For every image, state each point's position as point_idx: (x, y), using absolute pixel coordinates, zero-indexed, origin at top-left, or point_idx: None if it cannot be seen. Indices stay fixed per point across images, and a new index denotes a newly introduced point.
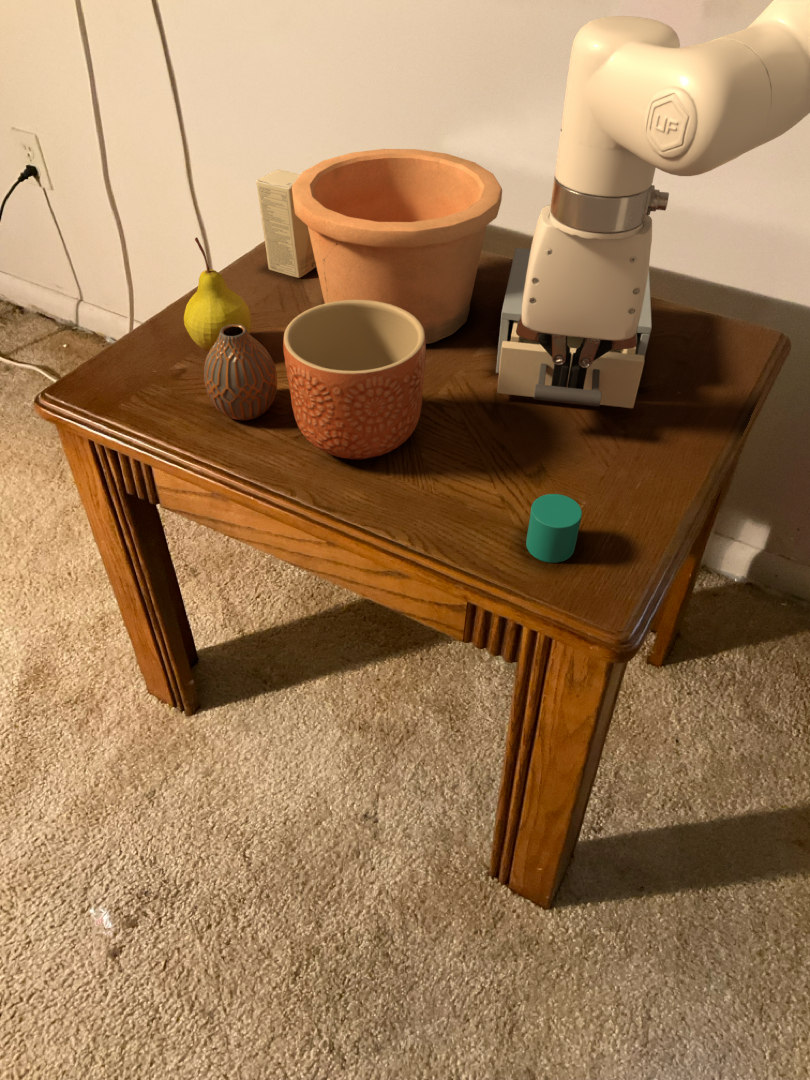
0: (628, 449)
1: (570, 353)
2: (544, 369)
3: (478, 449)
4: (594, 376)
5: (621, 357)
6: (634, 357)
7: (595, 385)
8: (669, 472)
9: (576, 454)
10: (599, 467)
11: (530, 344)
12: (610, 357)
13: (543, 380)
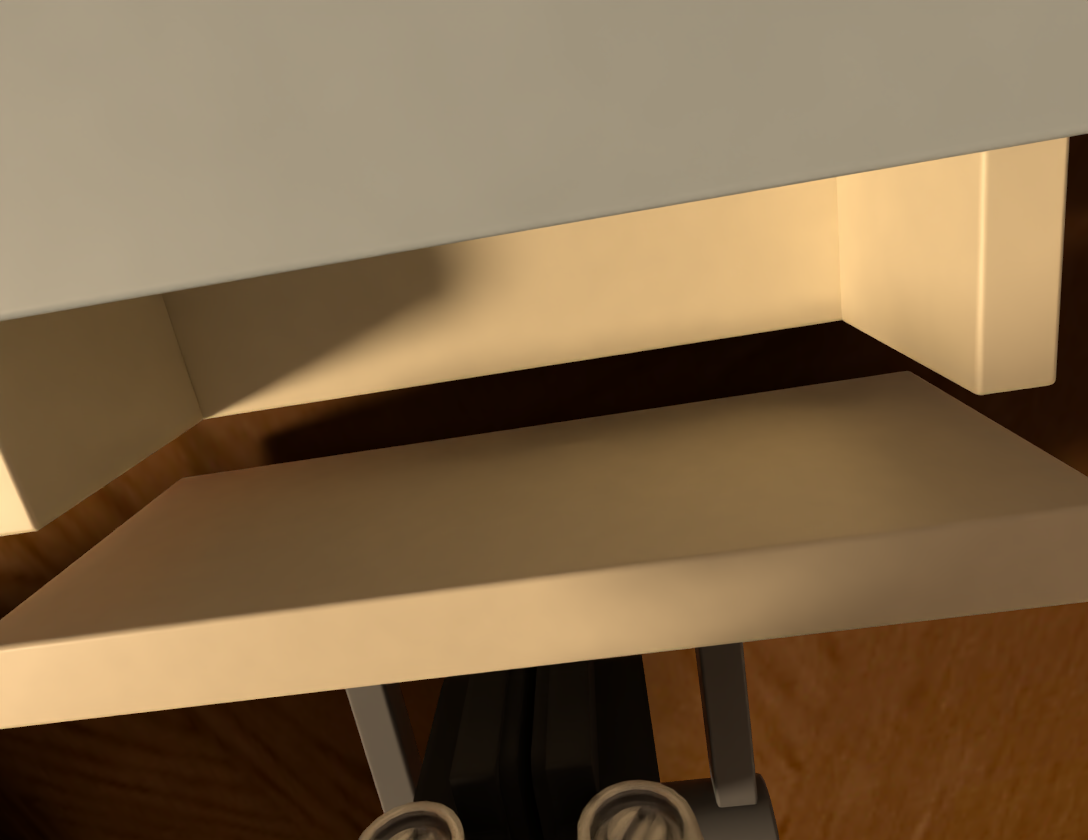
0: (879, 652)
1: (513, 804)
2: (374, 693)
3: (295, 813)
4: (710, 670)
5: (923, 594)
6: (1039, 561)
7: (730, 758)
8: (1052, 735)
9: (664, 740)
10: (765, 782)
11: (169, 645)
12: (829, 620)
13: (407, 794)
